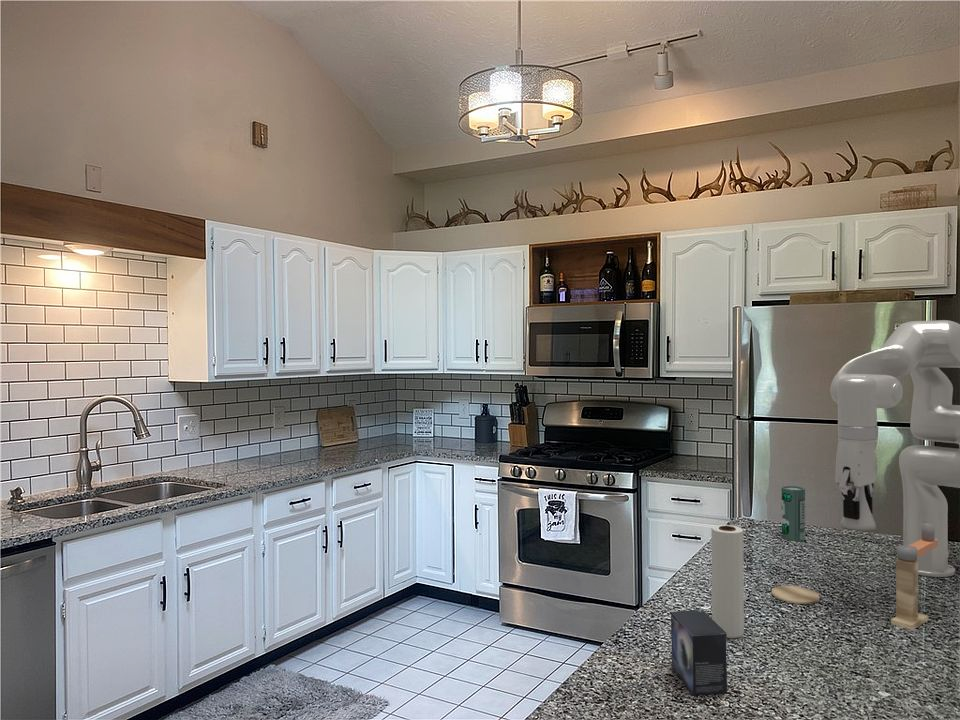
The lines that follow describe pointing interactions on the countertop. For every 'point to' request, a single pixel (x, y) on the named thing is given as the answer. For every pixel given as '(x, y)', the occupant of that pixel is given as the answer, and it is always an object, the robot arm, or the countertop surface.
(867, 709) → the countertop surface
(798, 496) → the can
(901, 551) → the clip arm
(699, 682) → the small box
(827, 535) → the countertop surface
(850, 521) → the flask
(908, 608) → the post
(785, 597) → the coaster
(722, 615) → the paper towel roll
